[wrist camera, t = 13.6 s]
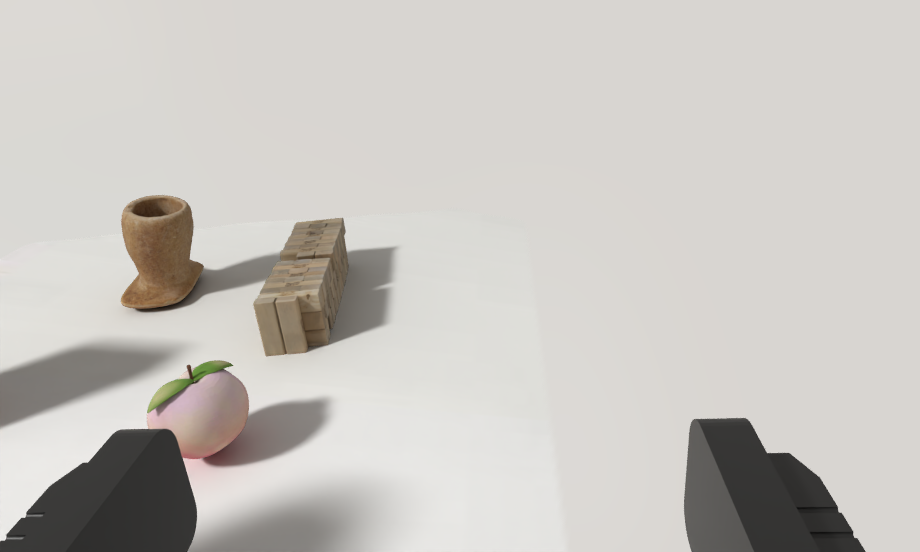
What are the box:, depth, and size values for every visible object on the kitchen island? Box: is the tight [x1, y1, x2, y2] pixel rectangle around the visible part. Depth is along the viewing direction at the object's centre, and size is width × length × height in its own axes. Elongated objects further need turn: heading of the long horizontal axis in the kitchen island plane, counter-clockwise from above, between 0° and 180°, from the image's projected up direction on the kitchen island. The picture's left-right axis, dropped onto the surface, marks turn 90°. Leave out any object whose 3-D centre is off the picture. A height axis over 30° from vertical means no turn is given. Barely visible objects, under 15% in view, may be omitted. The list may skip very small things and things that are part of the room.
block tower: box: [253, 218, 349, 356], centre depth 96 cm, size 8×8×29 cm
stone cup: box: [121, 195, 204, 309], centre depth 102 cm, size 15×12×15 cm
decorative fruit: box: [147, 361, 249, 459], centre depth 65 cm, size 9×8×10 cm
